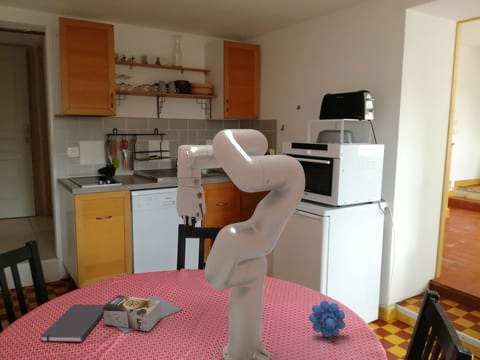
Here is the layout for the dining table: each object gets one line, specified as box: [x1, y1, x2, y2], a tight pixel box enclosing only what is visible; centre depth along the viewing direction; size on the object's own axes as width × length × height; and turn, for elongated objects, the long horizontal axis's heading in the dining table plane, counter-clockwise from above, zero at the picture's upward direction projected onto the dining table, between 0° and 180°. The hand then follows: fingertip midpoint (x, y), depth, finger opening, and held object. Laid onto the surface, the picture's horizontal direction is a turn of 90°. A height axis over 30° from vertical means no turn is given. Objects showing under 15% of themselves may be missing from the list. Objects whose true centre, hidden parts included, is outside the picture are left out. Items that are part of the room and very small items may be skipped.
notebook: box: [40, 304, 105, 343], centre depth 128 cm, size 13×2×21 cm
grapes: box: [308, 300, 346, 338], centre depth 122 cm, size 12×7×12 cm, turn 96°
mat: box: [102, 294, 183, 334], centre depth 137 cm, size 16×22×1 cm
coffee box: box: [103, 294, 162, 332], centre depth 130 cm, size 9×6×16 cm
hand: (190, 235), depth 134 cm, fingers closed
